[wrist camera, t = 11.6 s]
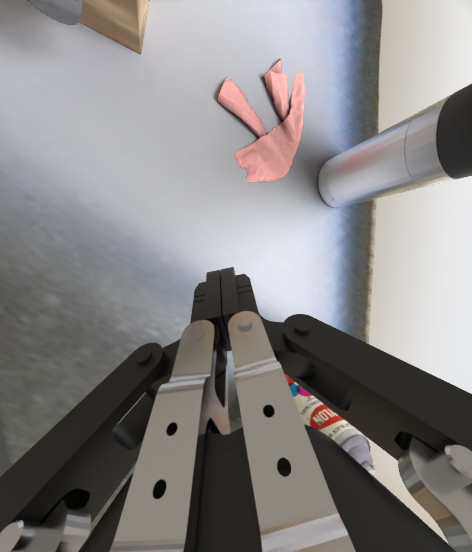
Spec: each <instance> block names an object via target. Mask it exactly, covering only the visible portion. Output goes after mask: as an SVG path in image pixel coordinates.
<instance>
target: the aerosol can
mask: <svg viewBox="0 0 472 552" xmlns="http://www.w3.org/2000/svg"><path fill="white" fill-rule="evenodd" d="M285 377H286V380H287V382H288V385H289V387H290V390H291V393H292V395H293V398H294V400H295V403H296V406H297V408H298V411H299V413H300V416H301V419H302V421H303V424H305V425H308V426H311V427H313V428H315V429H317V430H319V431H321V432H323V433H324V434H326V435H327V436H329V437H330V438H331V439H333V440H334V441H335V442H336V443H337V444H339V445H340V446H341V447H342V448H343V449H344V450H345V451H346V452H347V453H349V454H350V455H351V456H352V457H353V458H354V459H355V460H356V461H357V462H358V463H360V464H361V465H362V466H363V467H364V468H365V469H366V470H367V471H368V472H369V473H370V474H372V475H373V476H374V477H375V478H376V479H377V480H378V478H377V477H376V476H375V471H374V465H373V459H372V456H371V453H370V443H369V441H368V440H367V439H366V437H364V436H363V434H362V433H361V432H360V431H358V430H357V429H356V428H354V427H353V426H352V425H351V424H349V423H348V422H347V421H345V420H344V419H343V418H341V417H340V416H339V415H337V414H336V413H335V412H334V411H332V410H331V409H330V408H328V407H327V406H326V405H324V404H323V403H322V402H320V401H319V400H318V399H317V398H315V397H314V396H313V395H311V394H310V393H309V392H307V391H306V390H305V389H303V388H302V387H301V386H300V385H298V384H297V383H296V382H294V381H293V380H292V379H291V378H290V377H289V376H288V375H285ZM378 481H379V480H378ZM379 482H380V481H379ZM380 483H381V482H380ZM381 484H382V483H381Z"/></svg>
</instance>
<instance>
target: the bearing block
mask: <svg viewBox="0 0 472 552" xmlns="http://www.w3.org/2000/svg"><path fill="white" fill-rule="evenodd" d="M148 6H149V0H83V5H82V12H81V19H80V21H79V22H81V23H83V24H85V25H86V26H88V27H90V28H92V29H94V30H96V31H98V32H100V33H101V34H103V35H105V36H107V37H109V38H111V39H113V40H115V41H117V42H118V43H120V44H122V45H124V46H126V47H128V48H130V49H132V50H134V51H135V52H137V53H139V54H141V50H142V44H143V37H144V31H145V25H146V18H147V12H148Z"/></svg>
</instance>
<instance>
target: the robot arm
mask: <svg viewBox="0 0 472 552" xmlns="http://www.w3.org/2000/svg"><path fill="white" fill-rule="evenodd" d="M468 176H472V84H470V85H469V86H467V87H465V88H463V89H461V90H459V91H457V92H455V93H454V94H452V95H450V96H448V97H446V98H444V99H442V100H441V101H439V102H437V103H435V104H433V105H431V106H429V107H427V108H426V109H424V110H422V111H420V112H418V113H416V114H414V115H413V116H411V117H409V118H407V119H405V120H403V121H401V122H399V123H398V124H396V125H394V126H392V127H390V128H388V129H386V130H384V131H383V132H381V133H379V134H377V135H375V136H373V137H371V138H369V139H367V140H365V141H363V142H362V143H360V144H358V145H356V146H354V147H352V148H350V149H348V150H346V151H344V152H343V153H341V154H339V155H337V156H335V157H333V158H331V159H329V160H328V161H326V162H325V163H324V165H323V166H322V168H321V170H320V173H319V178H318V186H319V191H320V194H321V196H322V198H323V200H324V201H325V202H326V203H327V204H328V205H329V206H331V207H334V208H339V207H343V206H348V205H352V204H356V203H360V202H364V201H369V200H373V199H377V198H381V197H385V196H389V195H393V194H397V193H401V192H406V191H409V190H414V189H418V188H422V187H426V186H429V185H434V184H438V183H442V182H446V181H450V180H454V179H458V178H463V177H468ZM231 350H232V354H233V360H234V365H235V382H236V388H237V394H238V400H239V406H240V412H241V418H242V424H243V427H242V428H240V429H238V430H236V431H234V432H232V433H230V422H229V417H228V363H227V351H231ZM285 375H288V376H289V377H290V378H291V379H292V380H293V381H294V382H296V383H297V384H298V385H300V386H301V387H302V388H303V389H305V390H306V391H307V392H309V393H310V394H311V395H313V396H314V397H315V398H317V399H318V400H319V401H320V402H322V403H323V404H324V405H326V406H327V407H328V408H330V409H331V410H332V411H334V412H335V413H336V414H337V415H339V416H340V417H341V418H343V419H344V420H345V421H347V422H348V423H349V424H351V425H352V426H353V427H354V428H356V429H357V430H358V431H360V432H361V433H362V434H364V435H365V436H366V437H368V438H369V439H370V440H372V441H373V442H374V443H376V444H377V445H378V446H379V447H381V448H382V449H383V450H385V451H386V452H387V453H388V454H390V455H391V456H392V457H394V458H395V459H396V460H398V468H399V472H400V476H401V478H402V481H403V483H404V485H405V486H406V488H407V490H408V491H409V493H410V494H411V495H412V497H413V498H414V499H415V500H416V501H417V502H418V503H419V504H420V505H421V506H422V507H423V508H424V509H425V510H426V511H427V512H428V513H429V514H430V516H431V517H432V518H433V519H434V520H435V522H436V523H437V524H438V526H439V527H440V529H441V530H442V532H443V534H444V535H445V537H446V539H447V541H448V543H449V545H448V544H447V543H446V542H445V541H444V540H443V539H442V538H441V537H440V536H439V535H437V534H436V533H435V532H434V531H433V530H432V529H431V528H430V527H429V526H428V525H426V524H425V523H424V522H423V521H422V520H421V519H420V518H419V517H418V516H417V515H416V514H414V513H413V512H412V511H411V510H410V509H409V508H408V507H407V506H406V505H405V504H403V503H402V502H401V501H400V500H399V499H398V498H397V497H396V496H395V495H393V494H392V493H391V492H390V491H389V490H388V489H387V488H386V487H385V486H384V485H383V484H381V483H380V482H379V481H378V480H377V479H376V478H375V477H374V476H373V475H372V474H370V473H369V472H368V471H367V470H366V469H365V468H364V467H363V466H362V465H361V464H360V463H358V462H357V461H356V460H355V459H354V458H353V457H352V456H351V455H350V454H349V453H347V452H346V451H345V450H344V449H343V448H342V447H341V446H340V445H339V444H337V443H336V442H335V441H334V440H333V439H331V438H330V437H329V436H327V435H326V434H324V433H323V432H321V431H319V430H317V429H315V428H313V427H311V426H308V425H305V424H303V421H302V419H301V416H300V413H299V411H298V408H297V406H296V403H295V400H294V398H293V395H292V393H291V390H290V387H289V385H288V382H287V380H286V377H285ZM145 392H146V394H145V395H144V396H143V397H142V398H141V399H140V400H139V402H138V403H137V404H136V405H135V406H134V407H133V408H132V410H131V411H130V412H129V413H128V414H127V415H126V416H125V418H124V419H123V420H122V421H121V422H120V423H119V424H117V423H118V422H119V421H120V420H121V419H122V417H123V416H124V415H125V414H126V413H127V412H128V411H129V410H130V408H131V407H132V406H133V405H134V404H135V403H136V402H137V400H138V399H139V398H140V397H141V396H142V395H143V394H144V393H145ZM116 424H117V425H116ZM136 462H137V463H136ZM135 463H136V467H135V470H134V473H133V474H132V475H131V476H130V478H129V479H128V480H127V482H126V483H125V485H124V486H123V487H122V489H121V490H120V492H119V493H118V495H117V496H116V498H115V499H114V500H113V502H112V503H111V505H110V506H109V508H108V509H107V511H106V512H105V513H104V515H103V516H102V518H101V519H100V521H99V522H98V524H97V525H96V526H95V528H94V529H93V531H92V532H91V531H90V527H91V523H92V521H93V520H94V519H95V517H96V516H97V515H98V513H99V512H100V510H101V509H102V508H103V506H104V505H105V504H106V502H107V501H108V500H109V498H110V497H111V496H112V494H113V493H114V491H115V490H116V489H117V487H118V486H119V485H120V483H121V482H122V481H123V479H124V478H125V477H126V475H127V474H128V472H129V471H130V470H131V468H132V467H133V466H134V464H135ZM0 552H472V394H470V393H468V392H466V391H464V390H462V389H460V388H458V387H456V386H454V385H452V384H450V383H448V382H445V381H444V380H441V379H439V378H437V377H435V376H433V375H431V374H429V373H427V372H425V371H423V370H421V369H419V368H417V367H414V366H412V365H410V364H408V363H406V362H404V361H402V360H400V359H398V358H396V357H394V356H392V355H389V354H387V353H385V352H384V351H381V350H379V349H377V348H375V347H373V346H371V345H369V344H367V343H365V342H363V341H361V340H359V339H357V338H355V337H353V336H350V335H348V334H346V333H344V332H342V331H340V330H338V329H336V328H334V327H332V326H330V325H328V324H326V323H324V322H322V321H319V320H317V319H315V318H313V317H311V316H309V315H305V314H296V315H292V316H290V317H288V318H287V319H286V320H285V321H284V323H282V322H272V321H268V320H266V319H264V318H263V317H262V316H261V315H260V314H259V312H258V309H257V305H256V301H255V297H254V293H253V290H252V286H251V282H250V278H249V277H247V276H246V275H245V274H241V275H236V276H235V271H234V267H231V268H226V269H221V271H220V270H217V271H212V272H207V276H206V282H203V283H199V284H198V286H197V287H196V289H195V292H194V300H193V308H192V315H191V323H190V325H188V326H187V327H186V328H185V330H184V331H183V333H182V336H181V339H179V340H178V341H176V342H174V343H172V344H170V345H168V346H166V347H164V348H162V347H161V345H159V344H157V343H148V344H145V345H143V346H141V347H139V348H138V349H137V350H135V351H134V352H133V353H132V354H131V355H130V356H129V357H128V358H127V359H126V360H125V361H124V362H123V363H121V364H120V365H119V366H118V367H117V368H116V369H115V370H114V371H113V372H112V373H111V374H110V375H109V376H108V377H107V378H105V379H104V380H103V381H102V382H101V383H100V384H99V385H98V386H97V387H96V388H95V389H94V390H93V391H92V392H91V393H89V394H88V395H87V396H86V397H85V398H84V399H83V400H82V401H81V402H80V403H79V404H78V405H77V406H76V407H75V408H73V409H72V410H71V411H70V412H69V413H68V414H67V415H66V416H65V417H64V418H63V419H62V420H61V421H60V422H59V423H57V424H56V425H55V426H54V427H53V428H52V429H51V430H50V431H49V432H48V433H47V434H46V435H45V436H44V437H43V438H41V439H40V440H39V441H38V442H37V443H36V444H35V445H34V446H33V447H32V448H31V449H30V450H29V451H28V452H27V453H25V454H24V455H23V456H22V457H21V458H20V459H19V460H18V461H17V462H16V463H15V464H14V465H13V466H12V467H11V468H9V470H7V471H6V472H5V473H4V474H3V475H2V476H1V477H0Z"/></svg>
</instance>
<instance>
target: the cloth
mask: <svg viewBox="0 0 472 552" xmlns="http://www.w3.org/2000/svg"><path fill="white" fill-rule="evenodd" d="M281 68H282V66H281V59H279V61H278V62H277V63H276V64H275V65H274V66H273V67H272V68H271V69H270V70H269V71H268V72H267V73H266V74H264V76H263V77H264V79H265V82H266V86H267V90H268V93H269V95H270V97H271V99H272V100H273V102H274V104H275V109H276V112H277V115H278V117H279V118H280V120H281V121H282V123H281V124H280V125H279V126H277V130H276V127H275V128H274V129H273V130H272V131H270V132H269V133H268V134H266V132H265V130H264V127H263V125H262V123H261V121H260V119H259V117H258V115H257V114H256V113H255V112H254V111H253V110H252V108H251V107H250V106H249V104H248V102H247V100H246V98H245V95H244V94H243V92H242V91H241V90H240V89H239V87H238V86H237V85H236V84H235V83H234V82H233V81H232V80H231V79H227V78H225V81H224V83H223V85H222V88H221V91H220V93H219V96H218V100H217V102H218V103H219V104H221V105H222V106H224V107H225V108H226V109H228V110H229V111H231V112H233V113H234V114H236V115H237V116H238V117H239V118H240V119H241V121H242V122H243V123H244V124H245V125H246V126H247V127H248V128H249V129H250V131H251V132H252V133H253V134H254V135H255V136H256V137H257V138H258V140H256V141H255V142H254V143H252V144H251V145H249V146H247V147H245V148H243V149H240V150H238V151H237V153H236V154H235V157H236V160H237V162H238V164H239V165H240V167H241V168H246V170H247V172H248V174H247V177H246V179H247V180H248V181H249V182H257V181H258V182H262V181H269V180H272V181H274V180H277V179H279V178H282V177H284V176H285V175H286V174H287V172H288V171H289V169H290V166H291V165H292V164H293V162H294V161H293V160H292V159H293V158H294V155H295V154H296V152H297V151H296V150H297V148H298V146H299V142H300V140H301V132H302V128H303V114H304V94H305V89H304V76H303V72H299V73H298V74H297V75H296V76H295V78H294V85H293V90H292V95H291V109H290V113H289V105H288V82H287V74H286V73H281ZM275 131H276V133H275ZM274 135H275V136H274Z"/></svg>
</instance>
